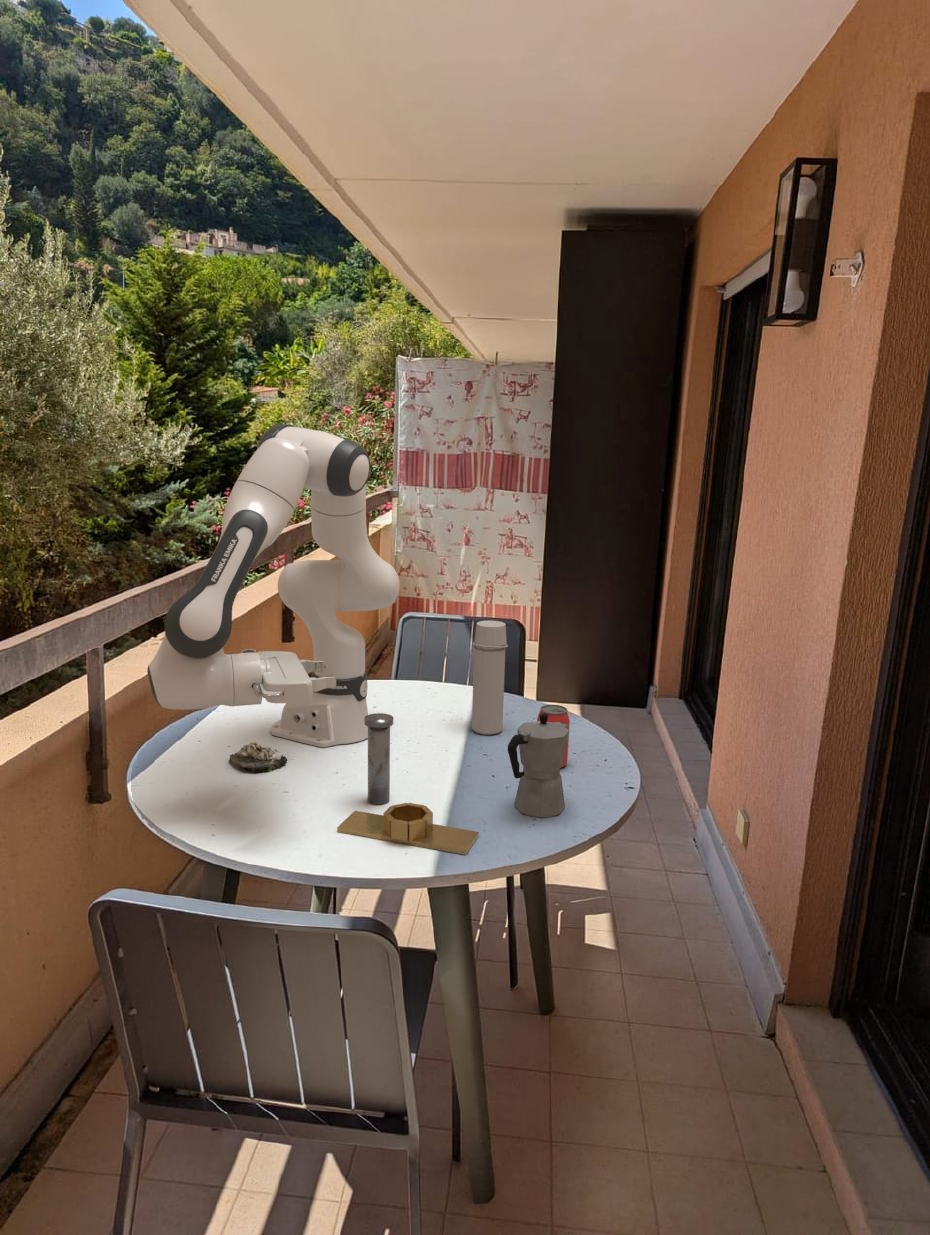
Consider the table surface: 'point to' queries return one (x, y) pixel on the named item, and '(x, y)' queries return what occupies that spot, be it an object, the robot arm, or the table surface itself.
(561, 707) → the beer can
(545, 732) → the coffeepot
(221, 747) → the table surface
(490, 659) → the water bottle
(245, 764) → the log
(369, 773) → the pin
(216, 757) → the table surface
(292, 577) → the robot arm
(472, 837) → the octagonal peg holder board
